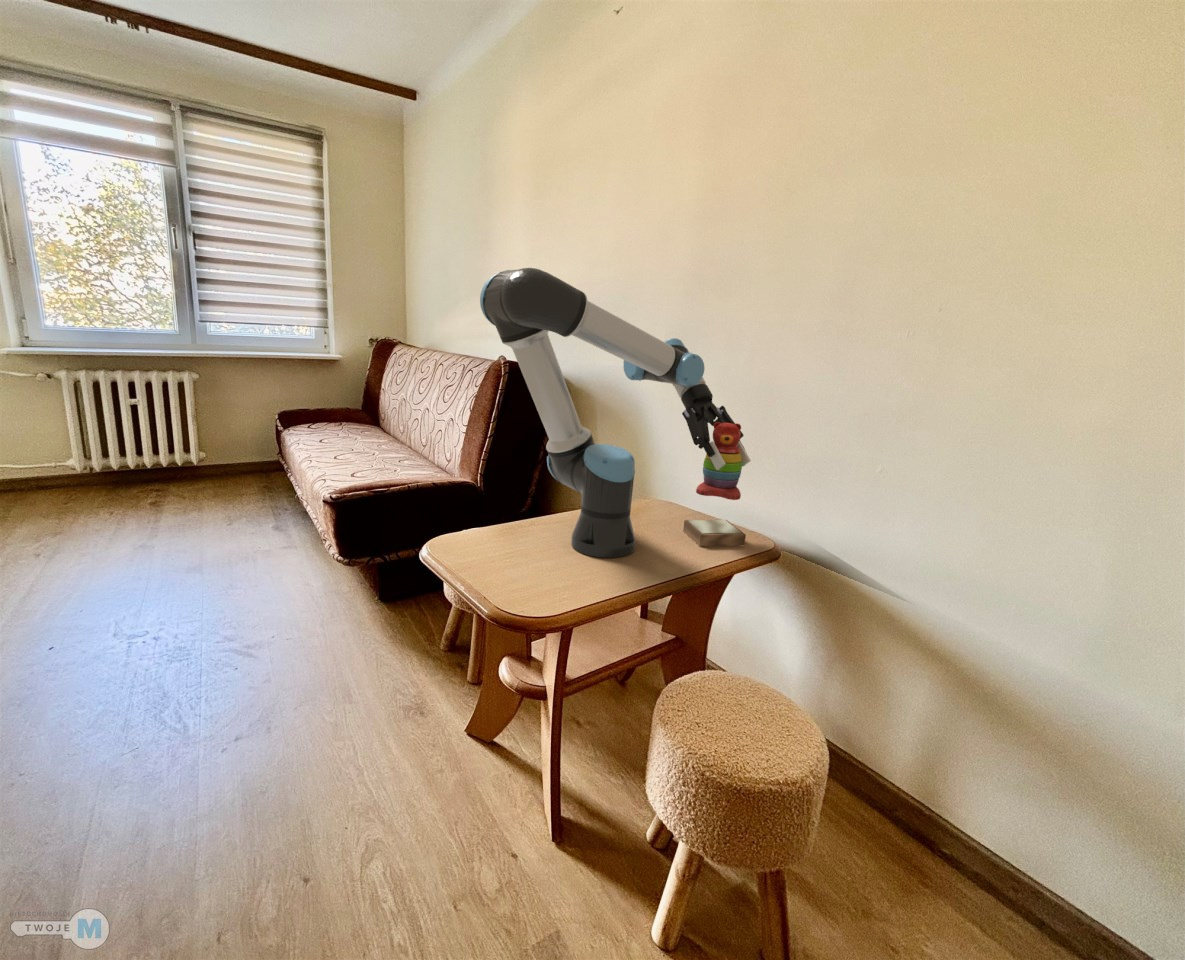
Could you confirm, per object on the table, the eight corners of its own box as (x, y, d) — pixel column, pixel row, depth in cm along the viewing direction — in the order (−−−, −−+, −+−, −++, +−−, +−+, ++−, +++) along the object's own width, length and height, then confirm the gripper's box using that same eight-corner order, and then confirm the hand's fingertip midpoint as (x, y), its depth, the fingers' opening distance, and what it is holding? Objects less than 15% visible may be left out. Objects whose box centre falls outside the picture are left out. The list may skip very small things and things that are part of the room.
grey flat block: (699, 546, 134) (701, 534, 133) (683, 530, 144) (684, 519, 144) (744, 545, 137) (746, 533, 136) (725, 530, 147) (726, 519, 146)
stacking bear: (694, 494, 134) (703, 422, 130) (699, 485, 144) (707, 417, 139) (739, 501, 131) (750, 428, 127) (741, 491, 141) (751, 422, 136)
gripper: (712, 399, 150) (751, 469, 142) (654, 401, 138) (694, 477, 130) (730, 382, 145) (771, 453, 137) (671, 382, 132) (713, 460, 124)
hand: (733, 465), depth 133 cm, fingers closed on stacking bear, 9 cm apart
